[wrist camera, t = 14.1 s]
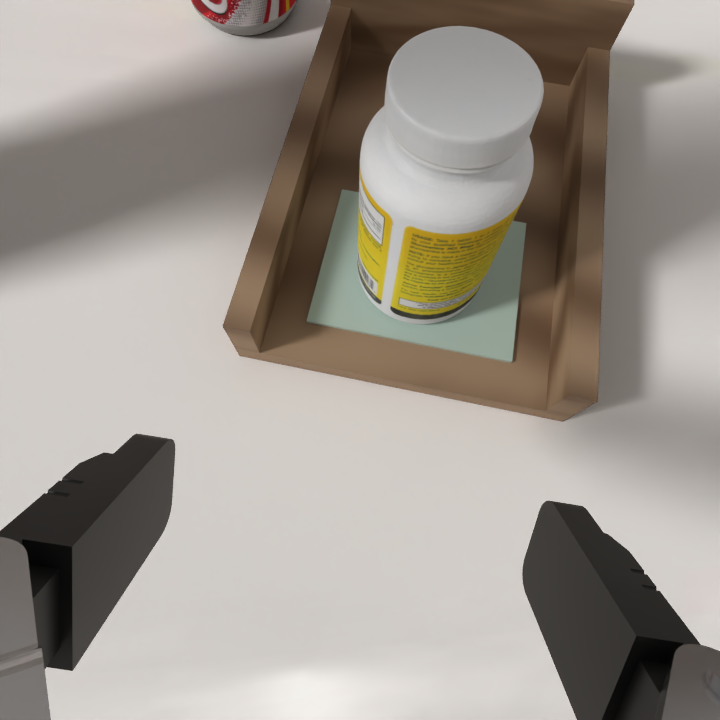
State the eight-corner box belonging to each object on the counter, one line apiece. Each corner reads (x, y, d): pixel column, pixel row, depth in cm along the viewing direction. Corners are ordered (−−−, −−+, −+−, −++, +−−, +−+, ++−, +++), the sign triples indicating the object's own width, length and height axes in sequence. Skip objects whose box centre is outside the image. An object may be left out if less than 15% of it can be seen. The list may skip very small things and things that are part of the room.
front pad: (510, 362, 23) (512, 361, 23) (306, 322, 24) (306, 320, 24) (525, 225, 26) (526, 223, 26) (342, 191, 27) (342, 189, 26)
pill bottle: (500, 259, 25) (608, 61, 15) (438, 352, 23) (510, 199, 13) (399, 201, 26) (432, -20, 16) (332, 285, 24) (320, 95, 14)
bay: (562, 421, 23) (630, 382, 18) (239, 355, 24) (206, 299, 19) (582, 89, 31) (634, -11, 26) (336, 47, 32) (334, -58, 26)
